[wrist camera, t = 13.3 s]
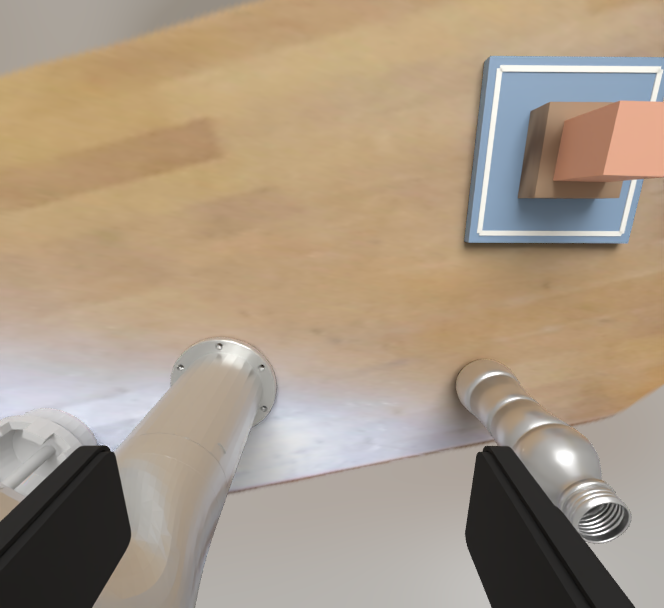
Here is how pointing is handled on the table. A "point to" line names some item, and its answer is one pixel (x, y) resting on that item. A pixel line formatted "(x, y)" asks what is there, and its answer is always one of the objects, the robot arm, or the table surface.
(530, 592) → the robot arm
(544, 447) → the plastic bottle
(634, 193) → the blueprint board
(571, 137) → the terracotta block
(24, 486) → the flag stand
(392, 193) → the table surface
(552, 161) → the walnut base
